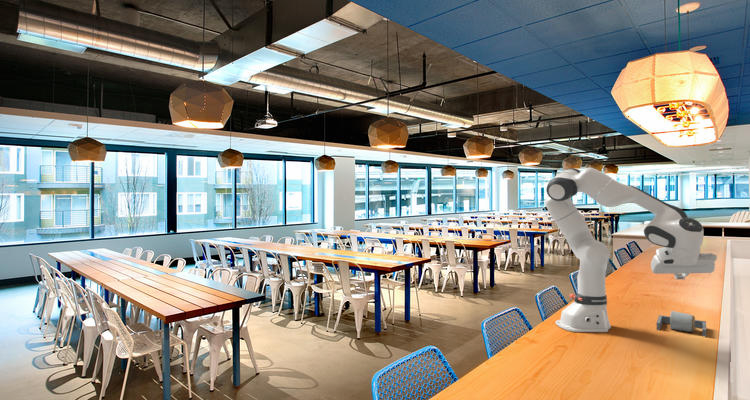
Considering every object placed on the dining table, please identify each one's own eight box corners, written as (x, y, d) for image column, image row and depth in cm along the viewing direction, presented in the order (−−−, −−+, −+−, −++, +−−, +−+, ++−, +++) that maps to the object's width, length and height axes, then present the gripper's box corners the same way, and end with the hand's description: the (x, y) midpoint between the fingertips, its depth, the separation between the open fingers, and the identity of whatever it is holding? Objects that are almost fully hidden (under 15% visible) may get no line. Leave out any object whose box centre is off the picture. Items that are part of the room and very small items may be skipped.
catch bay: (706, 337, 159) (706, 329, 159) (656, 329, 169) (656, 322, 169) (706, 328, 169) (706, 321, 169) (659, 321, 180) (659, 315, 180)
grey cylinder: (694, 334, 162) (694, 316, 162) (669, 330, 167) (669, 312, 168) (696, 328, 170) (695, 310, 170) (672, 325, 175) (671, 307, 176)
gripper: (714, 247, 151) (707, 272, 159) (651, 249, 159) (648, 272, 166) (721, 259, 146) (714, 284, 154) (656, 261, 154) (652, 284, 161)
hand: (679, 278), depth 160 cm, fingers closed
